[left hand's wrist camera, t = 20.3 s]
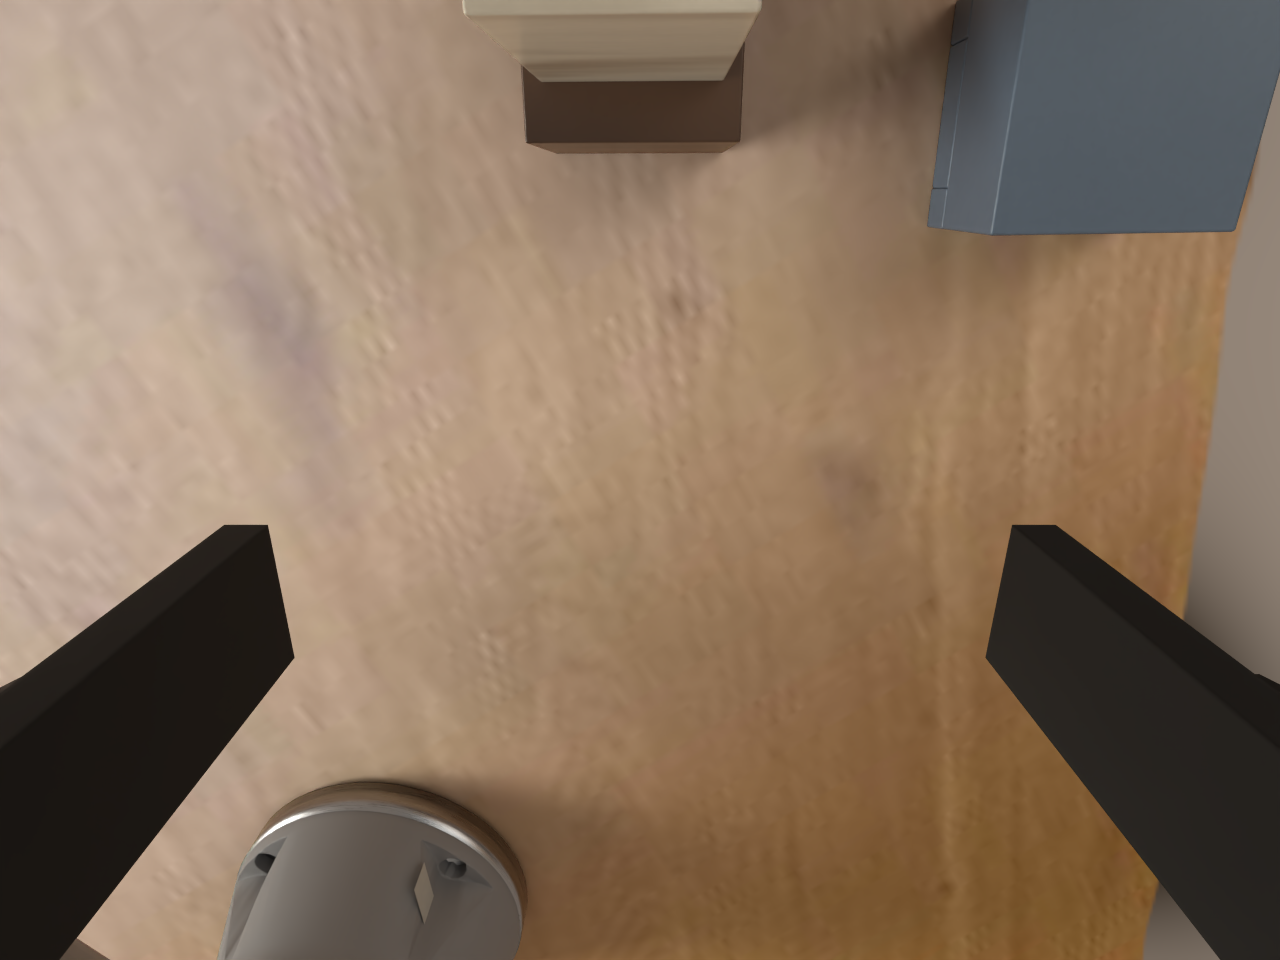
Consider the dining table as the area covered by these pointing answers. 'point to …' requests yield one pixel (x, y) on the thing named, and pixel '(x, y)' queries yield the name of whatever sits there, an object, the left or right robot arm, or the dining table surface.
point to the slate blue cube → (1103, 115)
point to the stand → (625, 71)
